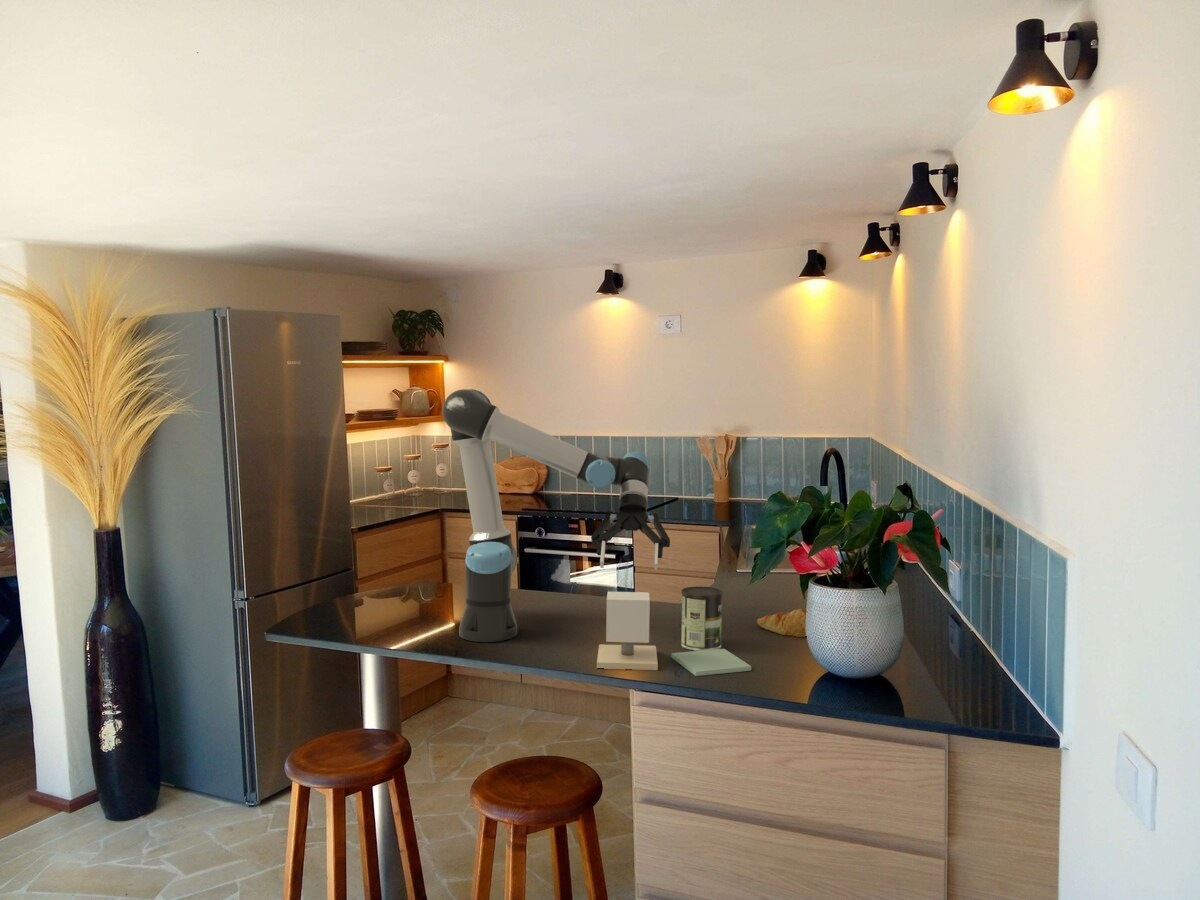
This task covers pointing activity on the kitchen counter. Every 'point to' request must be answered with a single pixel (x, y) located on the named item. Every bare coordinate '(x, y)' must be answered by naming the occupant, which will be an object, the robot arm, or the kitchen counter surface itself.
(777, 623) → the croissant
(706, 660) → the sage mat
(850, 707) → the kitchen counter surface
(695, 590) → the coffee can
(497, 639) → the robot arm
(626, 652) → the mounted unit
